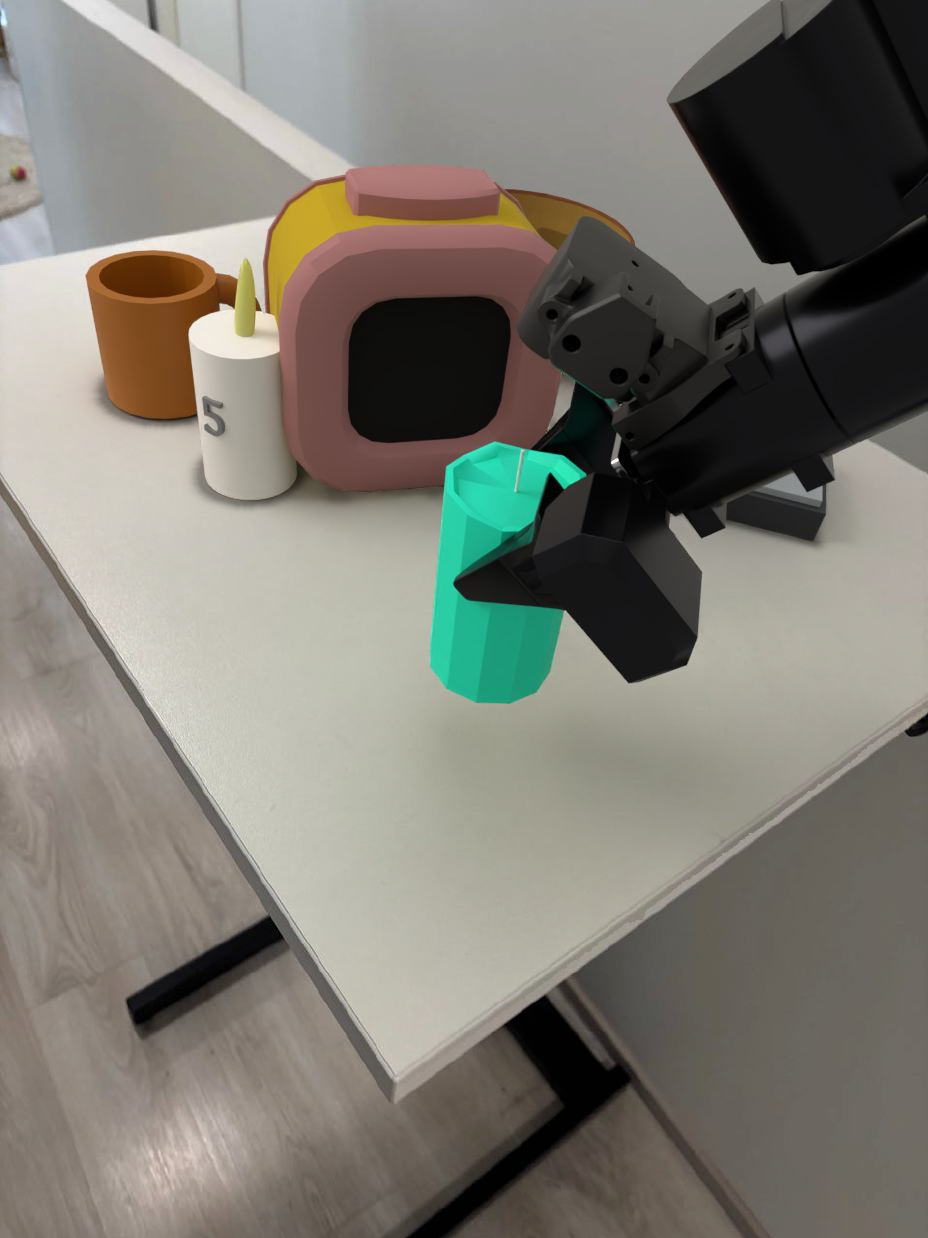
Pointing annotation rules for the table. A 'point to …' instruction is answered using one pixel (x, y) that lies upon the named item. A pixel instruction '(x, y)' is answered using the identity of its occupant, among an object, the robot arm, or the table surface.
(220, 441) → the candle
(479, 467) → the candle
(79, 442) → the table surface
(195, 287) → the mug
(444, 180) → the alarm clock
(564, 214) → the bowl
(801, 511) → the scale
